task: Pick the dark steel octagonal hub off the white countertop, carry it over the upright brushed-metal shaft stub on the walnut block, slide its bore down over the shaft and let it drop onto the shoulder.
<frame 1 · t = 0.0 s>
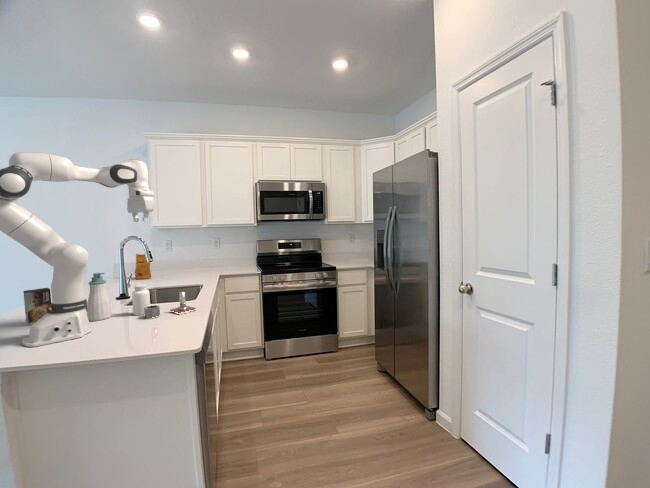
hand: (140, 221, 158), 48 cm above the countertop, fingers open, 8 cm apart
shaft block: (183, 311, 169), on the countertop
hub: (152, 316, 160), on the countertop
coffee package: (143, 279, 280), on the countertop
coffee box: (39, 323, 154), on the countertop
pill bottle: (142, 314, 166), on the countertop
soap bottle: (99, 318, 159), on the countertop
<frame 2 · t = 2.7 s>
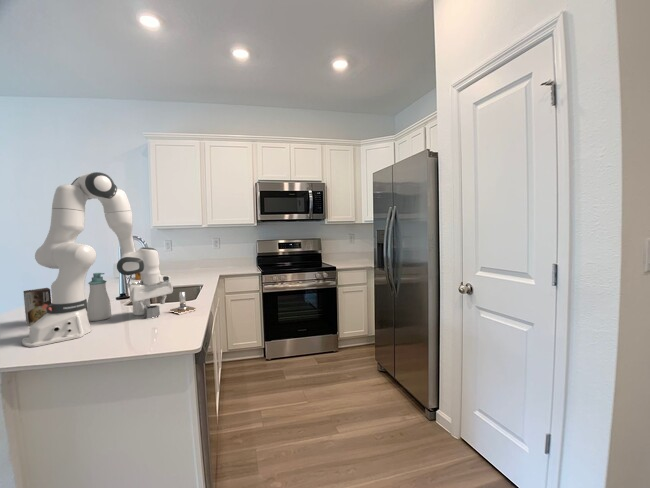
hand: (153, 306, 161), 5 cm above the countertop, fingers open, 8 cm apart
hub: (152, 316, 160), on the countertop, touching gripper
everything else where it was.
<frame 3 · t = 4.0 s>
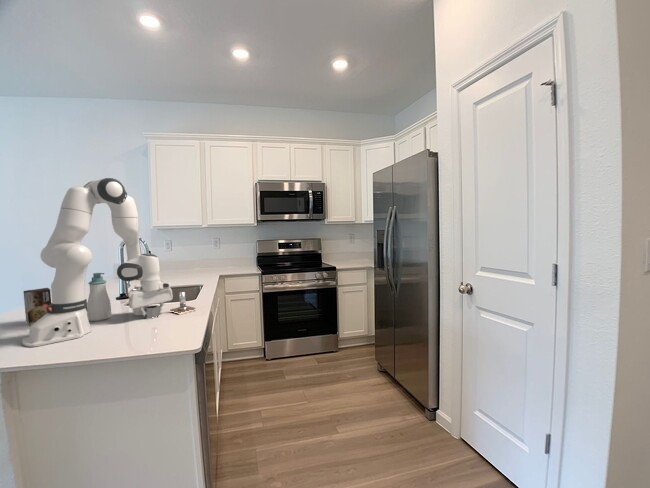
hand: (152, 313, 160), 2 cm above the countertop, fingers closed on hub, 6 cm apart
hub: (152, 316, 160), on the countertop, touching gripper
everything else where it was.
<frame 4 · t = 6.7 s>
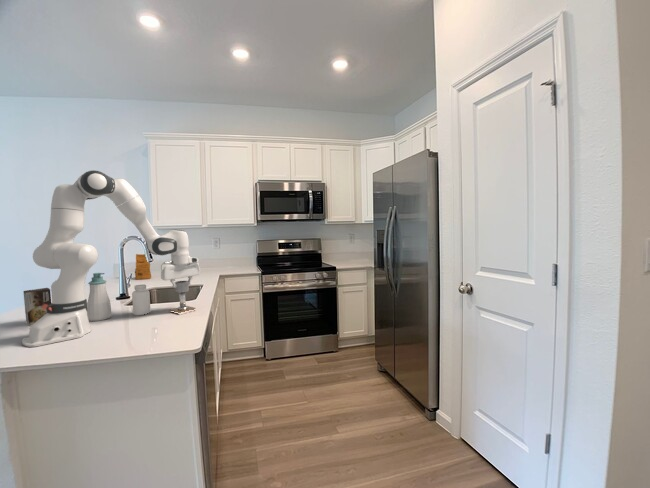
hand: (181, 286, 168), 14 cm above the countertop, fingers closed on hub, 6 cm apart
hub: (182, 291, 169), point 11 cm above the countertop, touching gripper
everything else where it was.
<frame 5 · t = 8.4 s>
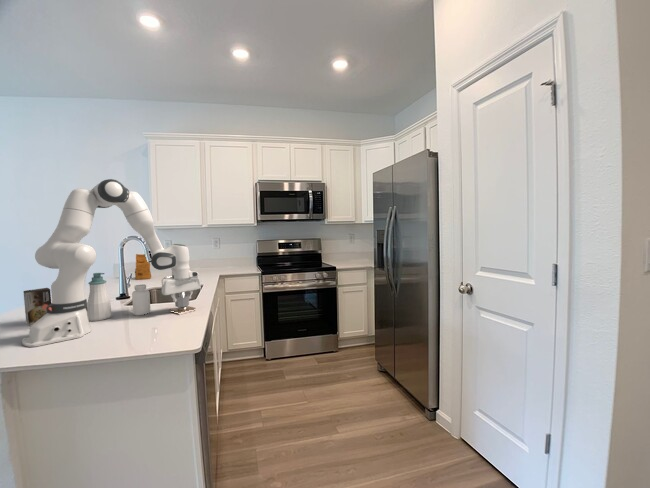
hand: (182, 300, 169), 6 cm above the countertop, fingers closed on hub, 6 cm apart
hub: (182, 305, 169), point 3 cm above the countertop, touching gripper
everything else where it was.
when the fingers open (6 cm above the countertop, at t = 9.6 s): hub stays where it is, resting on shaft block.
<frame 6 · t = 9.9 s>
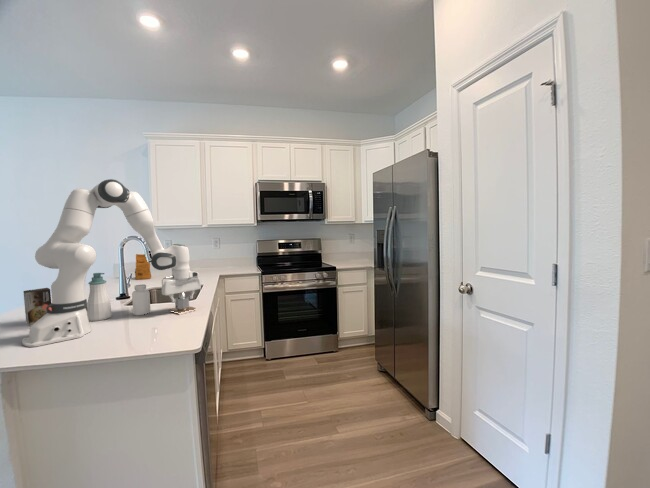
hand: (182, 300, 169), 6 cm above the countertop, fingers open, 8 cm apart
hub: (182, 307, 169), point 2 cm above the countertop, touching shaft block
everything else where it was.
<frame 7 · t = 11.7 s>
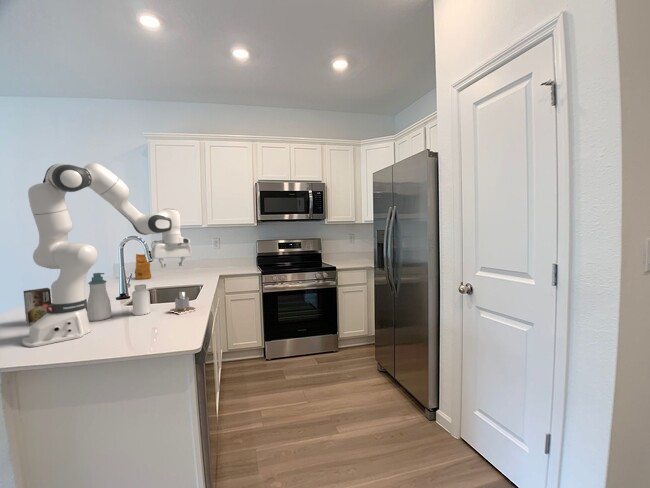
hand: (172, 266, 166), 24 cm above the countertop, fingers open, 8 cm apart
nothing on the countertop moved.
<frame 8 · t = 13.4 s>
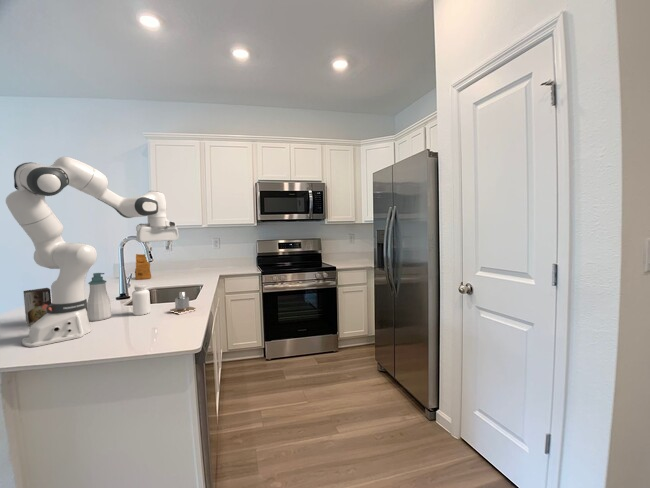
hand: (159, 250, 164), 33 cm above the countertop, fingers open, 8 cm apart
nothing on the countertop moved.
at the end: hub 0.2 cm off-centre on the shaft block, point 2.3 cm above the shaft block's base; hub tilted 0°; the gripper is holding nothing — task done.
